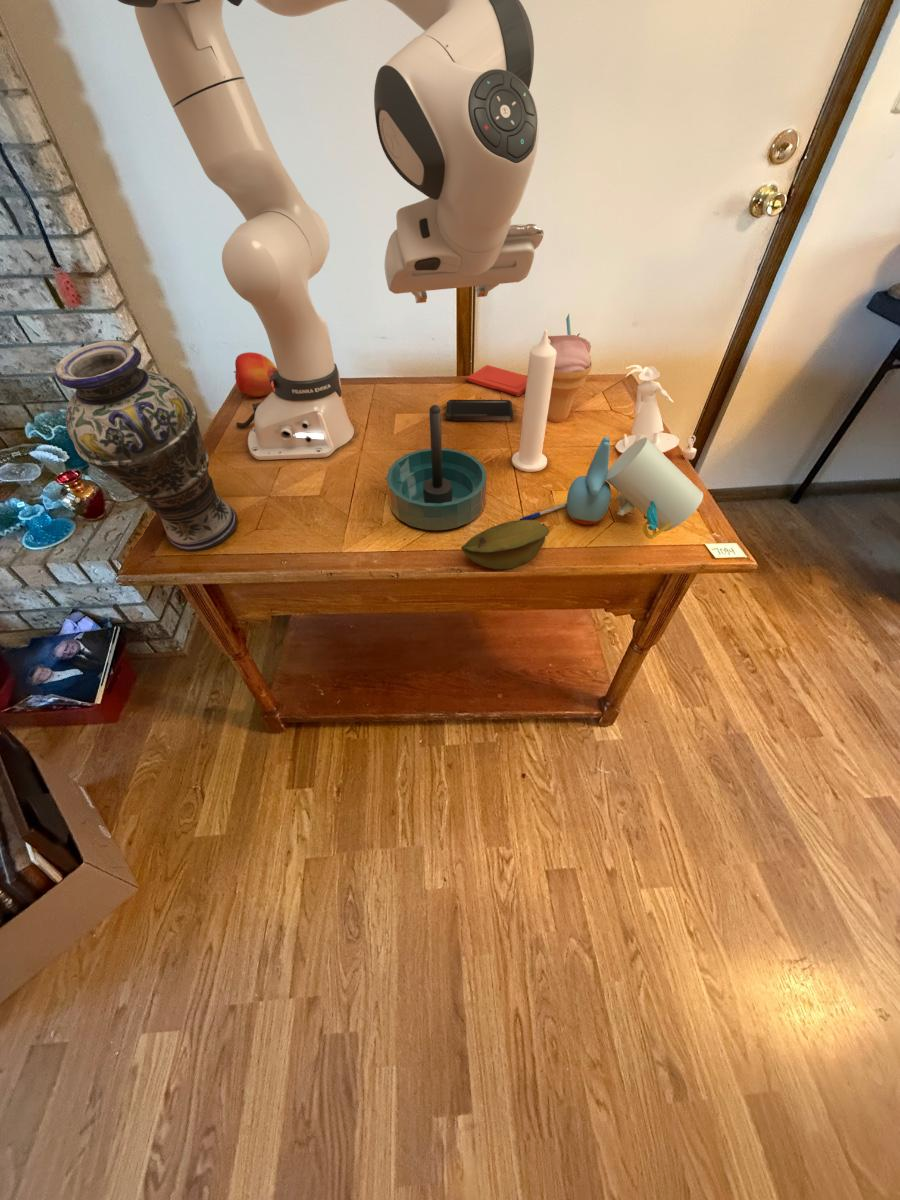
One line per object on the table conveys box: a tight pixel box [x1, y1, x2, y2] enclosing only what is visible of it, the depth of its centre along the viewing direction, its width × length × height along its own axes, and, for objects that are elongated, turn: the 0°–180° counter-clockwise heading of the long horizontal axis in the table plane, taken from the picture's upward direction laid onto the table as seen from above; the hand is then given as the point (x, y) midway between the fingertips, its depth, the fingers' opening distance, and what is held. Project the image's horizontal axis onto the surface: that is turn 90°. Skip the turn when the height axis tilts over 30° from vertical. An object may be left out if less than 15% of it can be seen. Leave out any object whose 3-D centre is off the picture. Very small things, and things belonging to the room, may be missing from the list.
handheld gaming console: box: [467, 364, 527, 397], centre depth 123 cm, size 9×1×15 cm
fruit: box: [460, 519, 551, 570], centre depth 79 cm, size 11×12×7 cm
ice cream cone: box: [547, 313, 593, 423], centre depth 104 cm, size 11×11×20 cm
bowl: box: [385, 447, 488, 531], centre depth 89 cm, size 18×18×6 cm
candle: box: [511, 329, 557, 473], centre depth 91 cm, size 7×7×25 cm
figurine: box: [614, 364, 698, 461], centre depth 96 cm, size 16×12×20 cm
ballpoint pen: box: [519, 502, 567, 520], centre depth 88 cm, size 10×1×1 cm, turn 116°
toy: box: [566, 436, 612, 525], centre depth 83 cm, size 10×7×15 cm
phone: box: [445, 399, 514, 422], centre depth 113 cm, size 8×1×15 cm
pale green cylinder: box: [606, 438, 704, 540], centre depth 83 cm, size 20×12×13 cm
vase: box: [54, 340, 238, 552], centre depth 74 cm, size 17×17×30 cm
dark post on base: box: [423, 404, 452, 503], centre depth 84 cm, size 5×5×18 cm
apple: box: [233, 351, 277, 398], centre depth 117 cm, size 10×10×10 cm
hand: (450, 295), depth 74 cm, fingers open, 8 cm apart
